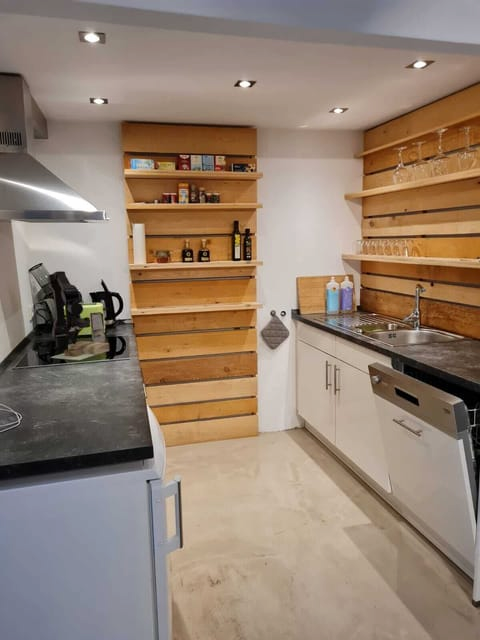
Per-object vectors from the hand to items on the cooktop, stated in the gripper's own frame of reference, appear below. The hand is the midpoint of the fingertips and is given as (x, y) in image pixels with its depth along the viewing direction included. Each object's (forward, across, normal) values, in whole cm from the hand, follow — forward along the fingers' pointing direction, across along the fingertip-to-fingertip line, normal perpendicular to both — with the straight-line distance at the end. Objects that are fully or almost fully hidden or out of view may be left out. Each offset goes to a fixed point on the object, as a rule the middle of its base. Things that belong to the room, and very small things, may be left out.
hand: (74, 343), depth 240 cm
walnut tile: (+3, 0, +1) cm, 3 cm away
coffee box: (+6, +35, +15) cm, 39 cm away
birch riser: (+6, +10, 0) cm, 12 cm away
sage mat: (+6, -2, 0) cm, 6 cm away
